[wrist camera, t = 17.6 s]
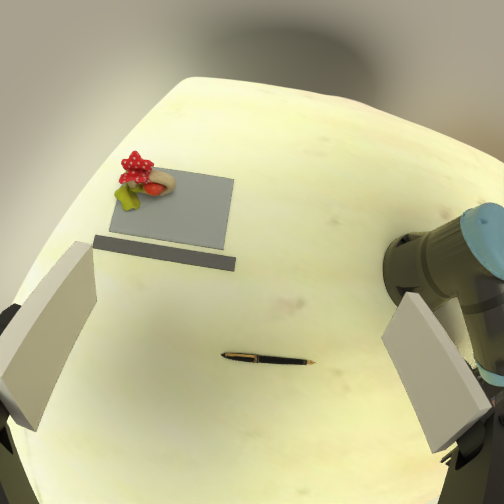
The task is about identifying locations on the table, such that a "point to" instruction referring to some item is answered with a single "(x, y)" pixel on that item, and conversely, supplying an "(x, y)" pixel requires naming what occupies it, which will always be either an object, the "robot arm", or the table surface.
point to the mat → (177, 221)
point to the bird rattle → (141, 181)
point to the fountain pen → (265, 359)
